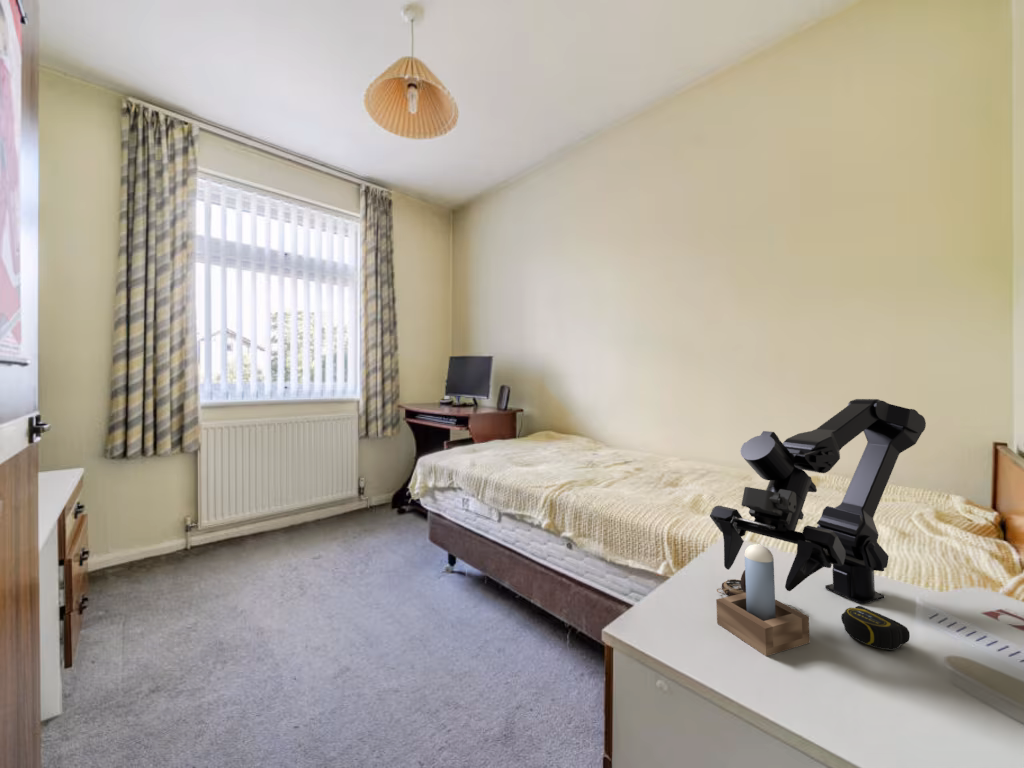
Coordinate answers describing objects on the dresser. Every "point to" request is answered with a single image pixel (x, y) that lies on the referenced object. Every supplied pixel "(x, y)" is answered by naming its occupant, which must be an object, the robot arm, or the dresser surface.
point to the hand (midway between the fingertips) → (755, 578)
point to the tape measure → (874, 628)
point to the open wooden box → (763, 625)
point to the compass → (734, 586)
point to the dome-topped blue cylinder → (760, 582)
